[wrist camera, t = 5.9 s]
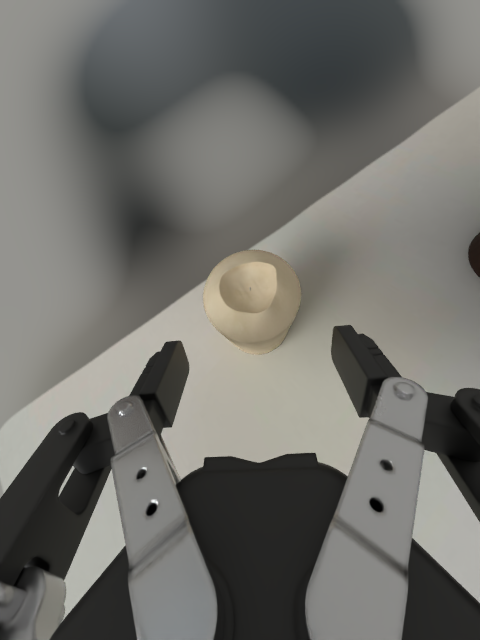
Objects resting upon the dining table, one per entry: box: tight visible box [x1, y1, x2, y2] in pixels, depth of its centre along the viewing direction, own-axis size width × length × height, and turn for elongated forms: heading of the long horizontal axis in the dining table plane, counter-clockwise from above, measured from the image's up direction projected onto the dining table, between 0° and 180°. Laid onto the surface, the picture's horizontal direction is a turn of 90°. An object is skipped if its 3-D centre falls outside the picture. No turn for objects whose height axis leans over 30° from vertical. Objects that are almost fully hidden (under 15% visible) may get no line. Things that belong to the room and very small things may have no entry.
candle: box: [203, 250, 301, 355], centre depth 16 cm, size 6×6×10 cm
